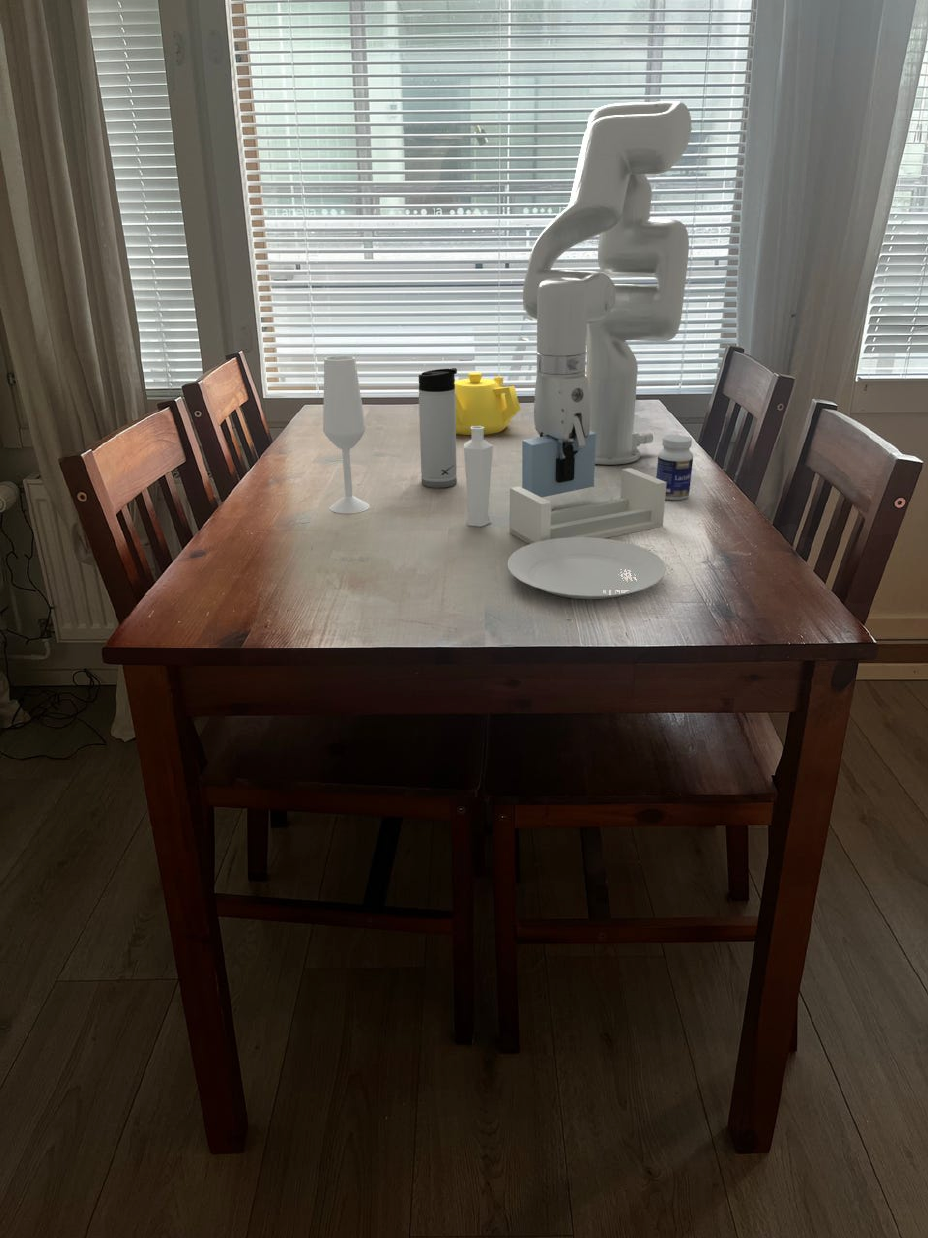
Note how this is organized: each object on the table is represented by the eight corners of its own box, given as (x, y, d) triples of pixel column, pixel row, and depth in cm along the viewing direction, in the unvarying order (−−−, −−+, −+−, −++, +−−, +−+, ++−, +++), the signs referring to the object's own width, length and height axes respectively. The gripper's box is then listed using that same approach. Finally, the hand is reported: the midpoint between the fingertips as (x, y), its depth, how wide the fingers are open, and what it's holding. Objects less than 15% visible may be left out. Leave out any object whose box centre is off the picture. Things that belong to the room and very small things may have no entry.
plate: (554, 624, 110) (555, 607, 109) (482, 565, 127) (482, 550, 126) (697, 594, 117) (698, 578, 116) (610, 543, 134) (611, 528, 133)
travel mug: (454, 489, 159) (452, 372, 150) (417, 487, 160) (413, 371, 152) (461, 479, 164) (460, 365, 156) (426, 477, 166) (422, 364, 157)
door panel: (583, 481, 153) (585, 428, 149) (593, 486, 151) (596, 433, 147) (522, 494, 149) (522, 440, 145) (531, 499, 146) (532, 444, 142)
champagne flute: (321, 510, 149) (309, 360, 139) (341, 499, 154) (331, 353, 144) (358, 515, 146) (348, 362, 136) (377, 503, 152) (369, 355, 142)
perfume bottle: (496, 519, 144) (496, 424, 138) (487, 528, 140) (487, 431, 134) (468, 516, 145) (467, 422, 139) (459, 525, 142) (458, 429, 135)
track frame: (627, 510, 147) (630, 467, 144) (662, 526, 140) (666, 482, 137) (509, 532, 138) (510, 487, 135) (540, 550, 131) (541, 504, 128)
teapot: (522, 435, 194) (523, 377, 189) (445, 440, 191) (444, 382, 186) (501, 418, 209) (502, 364, 204) (430, 422, 206) (429, 368, 201)
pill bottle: (677, 503, 150) (683, 444, 146) (648, 496, 154) (652, 438, 150) (695, 495, 154) (701, 437, 150) (666, 489, 158) (671, 432, 153)
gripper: (612, 370, 135) (606, 488, 144) (553, 352, 148) (551, 461, 157) (569, 376, 132) (566, 496, 141) (513, 357, 145) (513, 468, 154)
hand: (558, 476), depth 149 cm, fingers closed on door panel, 3 cm apart
